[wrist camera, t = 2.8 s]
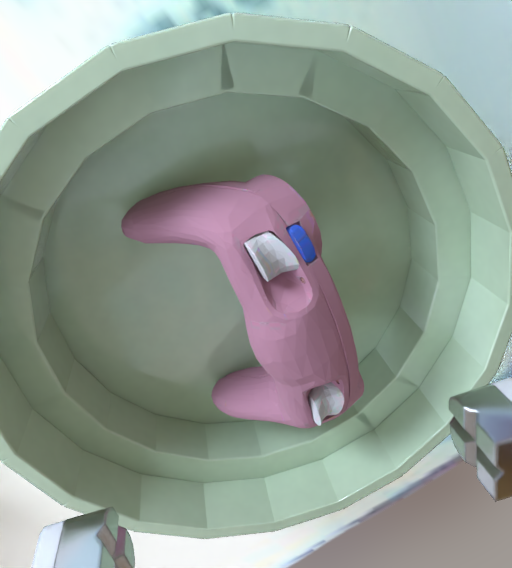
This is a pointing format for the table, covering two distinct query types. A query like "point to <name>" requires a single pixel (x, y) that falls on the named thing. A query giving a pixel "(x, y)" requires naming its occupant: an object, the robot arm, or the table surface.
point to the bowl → (213, 279)
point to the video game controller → (266, 295)
